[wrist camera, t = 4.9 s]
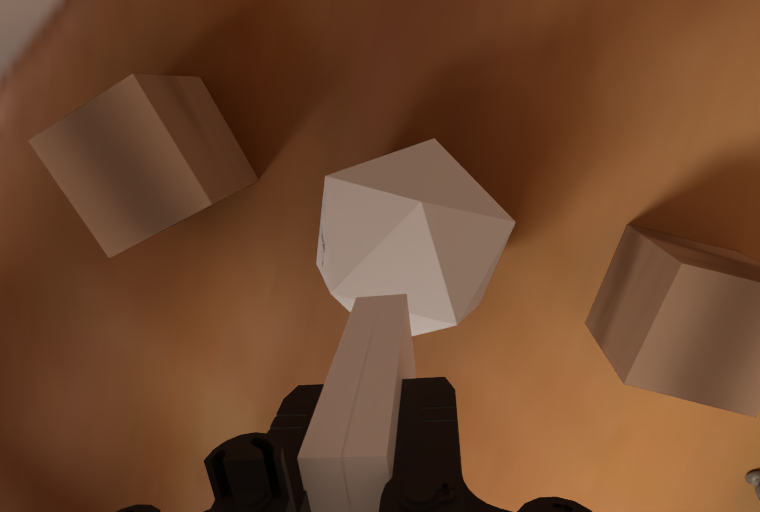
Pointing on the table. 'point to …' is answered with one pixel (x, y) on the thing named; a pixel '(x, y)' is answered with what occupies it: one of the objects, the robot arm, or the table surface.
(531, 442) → the table surface
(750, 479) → the dog figurine
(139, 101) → the walnut block
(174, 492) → the table surface
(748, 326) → the walnut block
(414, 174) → the die
